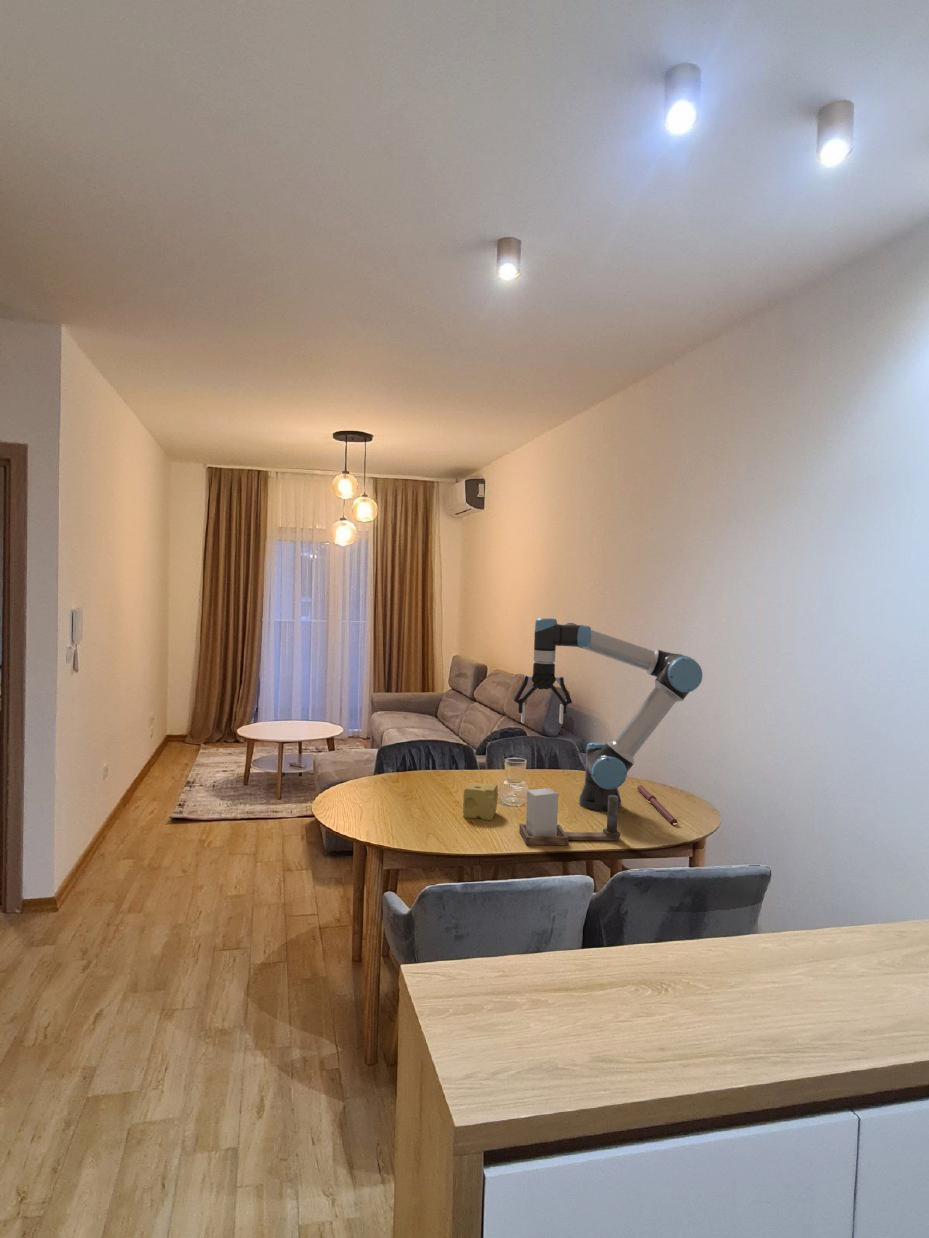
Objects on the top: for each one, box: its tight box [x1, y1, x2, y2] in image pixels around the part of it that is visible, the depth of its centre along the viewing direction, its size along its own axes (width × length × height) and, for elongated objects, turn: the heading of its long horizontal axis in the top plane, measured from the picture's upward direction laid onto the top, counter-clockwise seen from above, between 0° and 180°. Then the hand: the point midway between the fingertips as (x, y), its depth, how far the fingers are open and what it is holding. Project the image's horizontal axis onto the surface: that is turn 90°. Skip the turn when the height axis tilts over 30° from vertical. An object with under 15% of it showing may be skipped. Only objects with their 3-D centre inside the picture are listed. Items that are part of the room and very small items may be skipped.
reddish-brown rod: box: [636, 784, 679, 824], centre depth 284 cm, size 45×3×3 cm, turn 2°
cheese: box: [462, 782, 499, 821], centre depth 266 cm, size 10×11×10 cm
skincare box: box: [525, 787, 559, 837], centre depth 241 cm, size 8×7×16 cm
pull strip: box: [518, 795, 622, 846], centre depth 244 cm, size 31×13×13 cm, turn 95°
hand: (541, 723), depth 270 cm, fingers open, 13 cm apart
